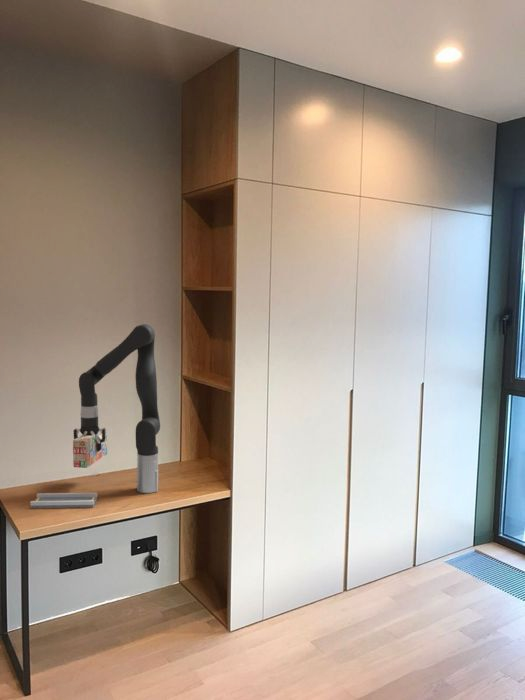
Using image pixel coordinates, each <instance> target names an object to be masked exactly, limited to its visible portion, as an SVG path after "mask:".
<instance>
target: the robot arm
mask: <svg viewBox="0 0 525 700" xmlns="http://www.w3.org/2000/svg"><path fill="white" fill-rule="evenodd" d="M155 337H156V333H155V330H154V329H153V327H152V326H150V325H149V324H147V323H143V324H139V325H136V326H135V327H134V328H133V329H132V330H131V332H130V333H129V334H128V335H127V336H126V337H125V339H123V340H122V341H121V342H120V344H118V345H117V346H116V347H115V348H113V349H112V350H111V351H109V352H108V353H106V355H104V356H102V358H100V359H99V360H98V361H97V362H95V365H93V366H92V367H91V368H89V369H88V370H87V371H85V372H83V373H81V374H80V376H79V378H78V388H79V394H80V428H74V429H73V440H74V439H76V438H78V437H79V436H78V434H79V433H81V435H82V436H86V435H95V440H96V441H97V442H98V444H97V446H98V452H99V451H100V450H101V443H102V442H104V441H105V438H106V436H107V434H106V433H107V432H106V431H107V429H106V428H105V427H103V428H100V427H99V407H98V406H99V405H98V394H97V393H96V387H95V386H96V385H97V384H98V383H99V382H100V381H101V380H102V379H103V378H104V377H106V376H107V375H108V374H110V373H111V372H112V371H113V370H115V368H117V367H118V366H119V365H120V364H121V363H123V362H124V360H126V358H127V357H128V356H130V355H131V354H133V352H135V351H136V350H137V360H136V366H135V367H136V368H135V389H136V394H137V396H138V399H139V401H140V404H141V420H140V421H138V422H137V424H136V427H135V448H136V451H137V453H136V461H137V463H136V466H137V467H136V471H137V472H136V483H137V484H136V491H137V492H138V493H140V494H153V493H157V492H158V489H159V447H158V445H157V440H156V439H157V435H158V433H160V429H161V422H160V416H159V409H158V382H157V378H158V377H157V371H156V369H157V368H156V360H155V339H156V338H155ZM99 432H100V434H101V435H102V439H100V438H99V436H96V435H97V434H99Z"/></svg>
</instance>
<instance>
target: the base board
mask: <svg viewBox="0 0 525 700" xmlns="http://www.w3.org/2000/svg"><path fill="white" fill-rule="evenodd" d="M97 500H98V492H46V493H45V492H44V493H43V492H42V493H41V492H40V493H39V492H38V493H36V498H35V499H34V500H31V501H30V509H68V508H69V509H77V508H78V507H79V509H80V508H81V509H82V508H85V509H86V508H94V506H95V504H96V503H97ZM70 507H71V508H70ZM74 507H75V508H74Z"/></svg>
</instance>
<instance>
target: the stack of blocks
mask: <svg viewBox="0 0 525 700" xmlns="http://www.w3.org/2000/svg"><path fill="white" fill-rule="evenodd" d="M96 436H99V438H100V439H102V434H99V433H97V435H96ZM107 439H108V438H107V435H106V438H105V441H104V442H102V443H101V450H100V451H99V452H98V446H97V444H98V442H97V441H96V440H95V435H86V436H82V434H81V435H80V436H78V438H76V439H74V438H73V439H72V454H73V461H72V462H73V468H82V469H87V468H89V467H90V466H92V465H93V464H95V463H96V462H98V461H99V460H100V459H102V458H103V457H105V456H106V455H108V442H107Z"/></svg>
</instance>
